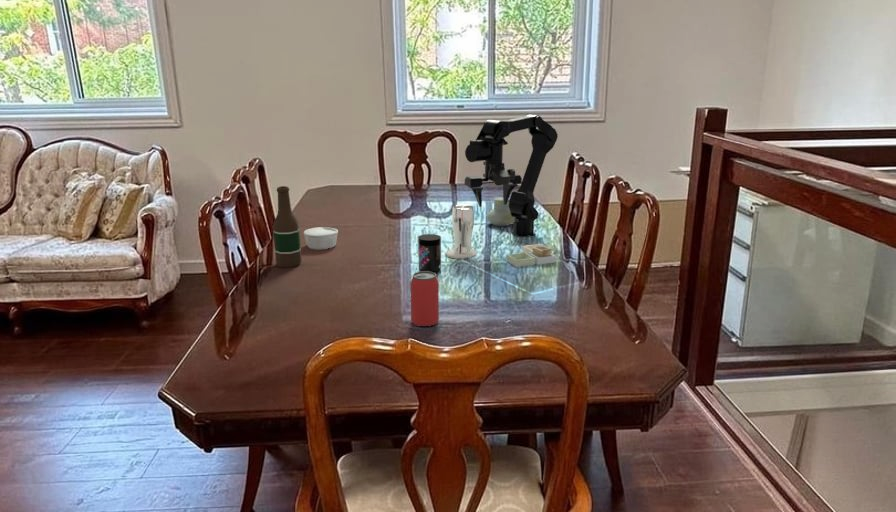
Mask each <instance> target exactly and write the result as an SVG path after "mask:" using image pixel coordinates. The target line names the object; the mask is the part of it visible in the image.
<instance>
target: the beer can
mask: <svg viewBox="0 0 896 512" xmlns="http://www.w3.org/2000/svg"><path fill="white" fill-rule="evenodd" d="M409 285H410V320H411V321H410V322H411V323H412V324H413V325H414V326H416V325H417V327H420V326H429V327H432V326H431V325H433V326H435V325H437V324H438V323H439V321H440V318H439V317H440V316H439V315H440V314H439V313H440V311H439V310H440V309H439V307H440V306H439V304H440V301H439V299H440V298H439V297H440V296H439V292H440V291H439V288H440V287H439V286H440V284H439V280H438V278H437V273H433V272H429V271H416V272H414V273H413V274H412V277H411V281H410V284H409ZM434 324H435V325H434Z"/></svg>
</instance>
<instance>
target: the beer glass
mask: <svg viewBox="0 0 896 512" xmlns="http://www.w3.org/2000/svg"><path fill="white" fill-rule="evenodd" d="M474 211H475V210H474V206H473V205H470V204H454V205H452V211H451V212H452V214H451V215H452V216H451V224H452V225H451V227H452V232H453V237H454V246H453V249H454V250H453V252H454V253H455V254H459V255H467V254H471V253H472V250H473V247H472V236H473V233H474V232H473V231H474V226H475V225H474V224H475V215H474V214H475V213H474Z"/></svg>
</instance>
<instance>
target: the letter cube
mask: <svg viewBox="0 0 896 512" xmlns="http://www.w3.org/2000/svg"><path fill="white" fill-rule="evenodd" d="M551 254H552V248H551V247H547V246H545V245H543V246H538V247H533V255H535V256H537V257H538V258H540V257H547V256H551Z"/></svg>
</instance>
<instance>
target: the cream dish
mask: <svg viewBox="0 0 896 512" xmlns="http://www.w3.org/2000/svg"><path fill="white" fill-rule="evenodd" d="M538 246H544V245H543V244H541V243H535V244H527V245H522V252H521V253H524V252H525V253H527V254H528V252H533V247H538Z"/></svg>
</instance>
